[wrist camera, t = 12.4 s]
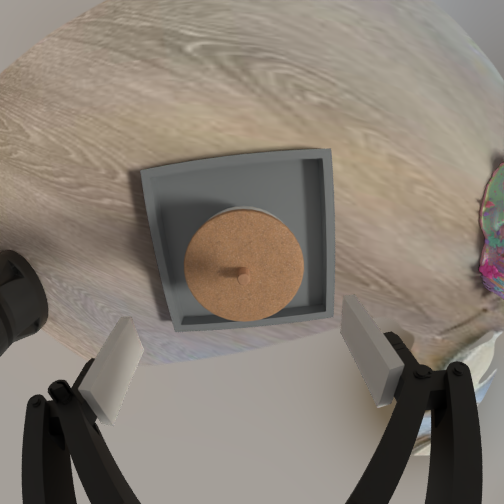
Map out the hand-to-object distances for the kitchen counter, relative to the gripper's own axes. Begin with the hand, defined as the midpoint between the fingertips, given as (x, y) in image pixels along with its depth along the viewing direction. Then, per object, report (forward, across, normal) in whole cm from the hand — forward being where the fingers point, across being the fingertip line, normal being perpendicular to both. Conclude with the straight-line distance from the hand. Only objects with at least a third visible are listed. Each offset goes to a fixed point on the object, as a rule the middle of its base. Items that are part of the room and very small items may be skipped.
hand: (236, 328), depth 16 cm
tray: (+17, -1, 0) cm, 17 cm away
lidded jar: (+16, -1, 0) cm, 17 cm away
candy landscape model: (+17, -48, +2) cm, 51 cm away
